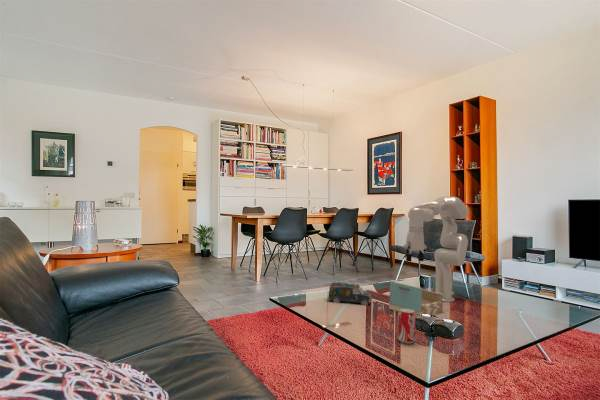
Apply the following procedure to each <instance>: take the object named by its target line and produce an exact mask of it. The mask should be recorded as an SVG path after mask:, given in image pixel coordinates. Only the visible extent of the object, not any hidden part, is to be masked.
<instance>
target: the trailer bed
mask: <svg viewBox="0 0 600 400" xmlns="http://www.w3.org/2000/svg"><path fill="white" fill-rule="evenodd" d="M442 298H443V294H441V293H437V292H435V291H433V290H428V289H424V288H422V305H421V312H418V311H415V314H430V315H432V316H434V315H437V314H441V313H443V301H442ZM400 308H404V307H401V306H398V305H394V304H391V303H390V302H388V309H389V310H392V311H395V312H399V311H400V310H399V309H400Z"/></svg>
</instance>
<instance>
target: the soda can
mask: <svg viewBox="0 0 600 400" xmlns="http://www.w3.org/2000/svg"><path fill="white" fill-rule="evenodd" d="M399 310H400V311H399V312H398V311H397V312H398V314H397V337H396V339H398V341H399V342H401V343H403V344H406V345H408V344H409V345H410V344H413V343H414V342H415V341H416V320H417V317H416V314H415V311H414V310H413V309H409V308H400V309H399Z"/></svg>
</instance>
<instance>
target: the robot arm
mask: <svg viewBox="0 0 600 400" xmlns="http://www.w3.org/2000/svg"><path fill="white" fill-rule="evenodd" d="M437 215H439V216H440V218H441V221H442V231H441V236H440V241H439V243H440V245H441V247H442V248H438V249H436V250H435V251H434V254H433V256H434V263H435V288H434V289H435V291H434V292H437V293H441V294H443V298H442V302H448V303H449V302H450V303H451V302H455V297H453V296H454V295H455V292H454V291H453V270H452V267H450V266H456V267H457V266H458V267H461V266H463V265H464V263H465V260H466V256H467V249H468V245H469V241H468V236H467V235H466V234H464V233H458V224H457V223H456V221H455V219H459V220H462V219H464V220H465V219H466V218H467V217H468V215H469V210H468V207H467V205H466V204H465V202H463V200H461V199H460V198H459V197H457V196H440V197H438V198H436V199H434V200H433V201H430V202H425V203H422V204H418V205H415V206H413V207H411V208H410V209H409V211H408V213H407V217H408V219H409V220H408V232H407V234H406V240H405V241H406V242H405V244H404V245H403V249H404V252H405V261H406V262H412V252H413V251H414V252H415V251H416V252H418V255H417V256H418V257H417V260H418V261H420V262H424V258H425V257H424V256H425V252H426V251H427V248H428V246H427V245H426V244H425V237H424V235H425V234H424V222H425V223H427V222H429V223H430V222H431V221H433V220H434V219H435V216H437Z"/></svg>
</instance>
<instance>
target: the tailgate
mask: <svg viewBox="0 0 600 400" xmlns="http://www.w3.org/2000/svg"><path fill="white" fill-rule="evenodd" d="M422 289H423V288H422V287H418V286H415V285H408V284H405V283H400V282H398V281H397V282H396V281H394V280H391V281H389V303H391V304H394V305H398V306H401V307H404V308H409V309H413V310H414V311H418V312H421V305H422Z"/></svg>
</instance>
